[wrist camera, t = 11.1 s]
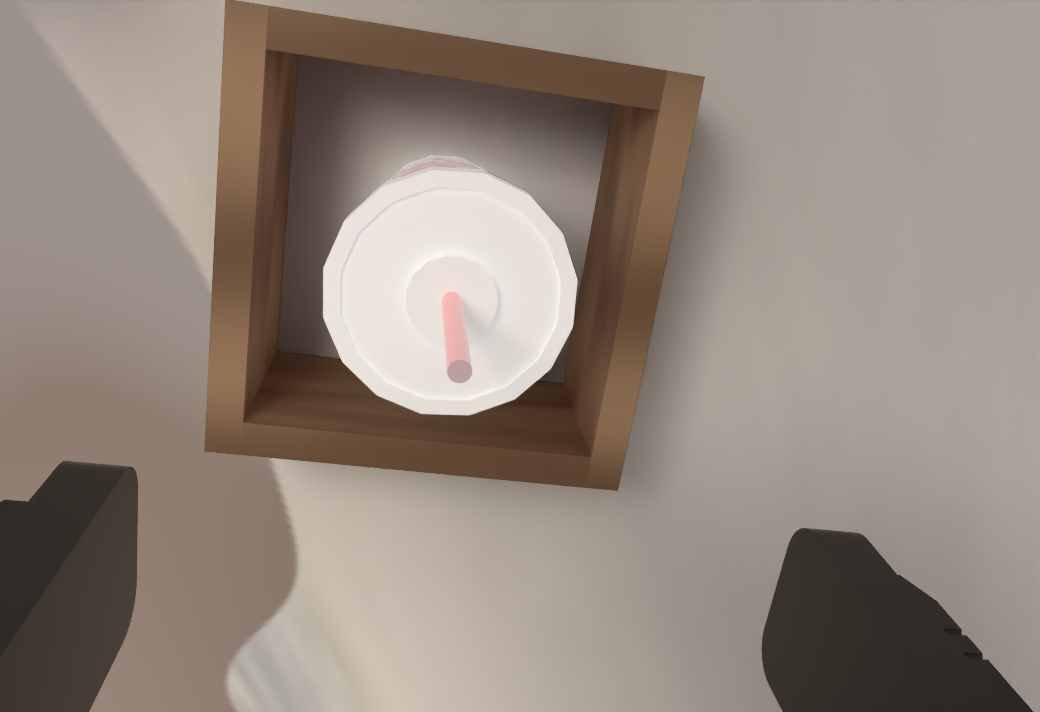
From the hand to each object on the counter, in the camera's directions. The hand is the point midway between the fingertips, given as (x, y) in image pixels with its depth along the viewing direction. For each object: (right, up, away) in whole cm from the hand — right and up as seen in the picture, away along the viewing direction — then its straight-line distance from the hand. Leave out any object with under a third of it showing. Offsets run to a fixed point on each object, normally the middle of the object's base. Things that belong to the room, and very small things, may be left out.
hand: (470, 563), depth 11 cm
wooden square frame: (-2, +7, +19) cm, 20 cm away
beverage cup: (-2, +7, +19) cm, 21 cm away
